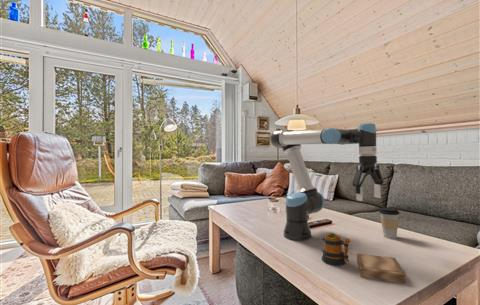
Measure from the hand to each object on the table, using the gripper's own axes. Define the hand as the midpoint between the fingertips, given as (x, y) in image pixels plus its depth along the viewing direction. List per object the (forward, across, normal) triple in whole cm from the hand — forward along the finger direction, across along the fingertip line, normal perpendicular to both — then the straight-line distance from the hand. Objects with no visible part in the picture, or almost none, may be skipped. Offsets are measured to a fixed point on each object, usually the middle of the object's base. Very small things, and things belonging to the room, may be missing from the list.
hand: (368, 199), depth 113 cm
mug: (+23, -27, -3) cm, 36 cm away
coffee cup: (+23, +21, +3) cm, 32 cm away
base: (+23, -19, -16) cm, 34 cm away
